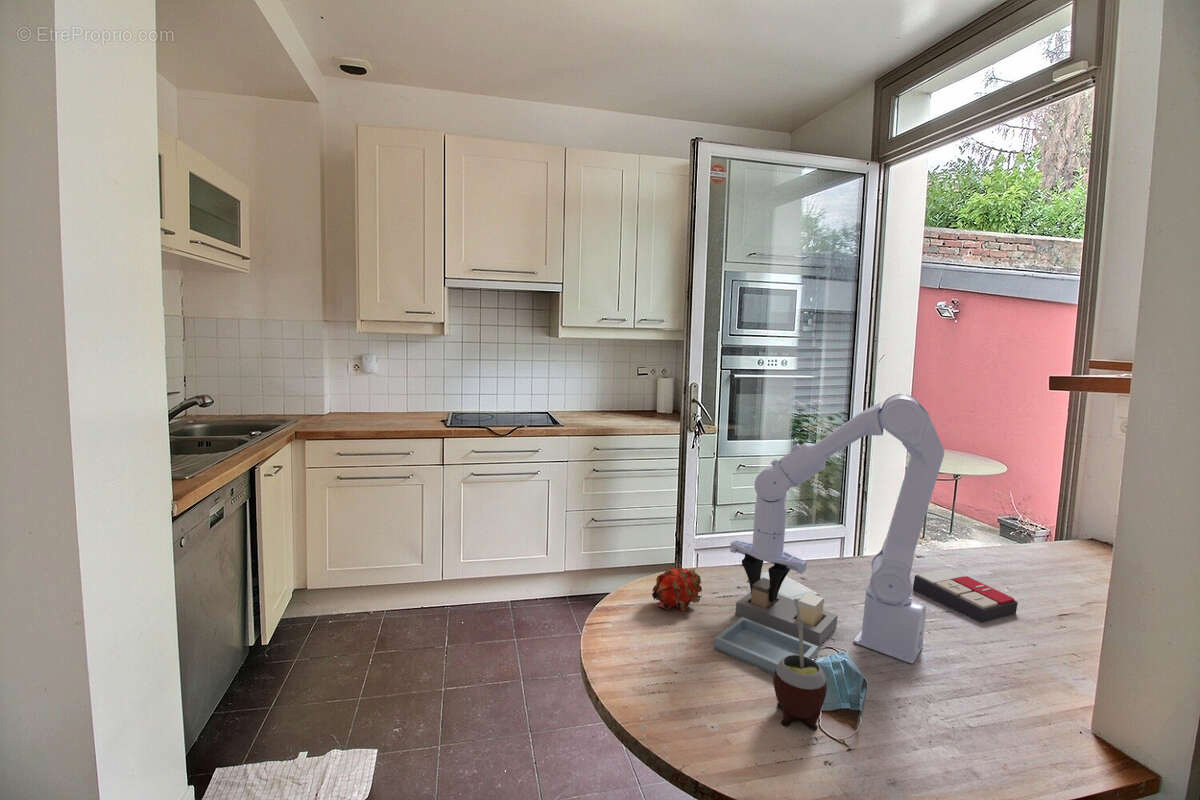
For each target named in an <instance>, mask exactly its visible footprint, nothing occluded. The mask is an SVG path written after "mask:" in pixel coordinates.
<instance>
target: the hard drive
mask: <svg viewBox="0 0 1200 800" xmlns="http://www.w3.org/2000/svg"><path fill="white" fill-rule="evenodd" d="M761 578H766V579H769V580H770V578H769V571H765V572H761ZM761 578H760V579H761ZM747 581H748V582H749V580H748V579H747ZM807 593H811V594H814V595H817V596H820V594H819V593H818V592H816V591H814V590H812V589H810V588H809V587H807V586H805V585H803V584H802V583H799V582H798V581H796V580H794V579H792V578H790V577H789V576H788V575H786V577H785V579H784V580H783V582H782V584H781V587H780V589H779V592H778V595H781V596H784V597H787V598H790V599H792V600H794V599H797V600H798V601H799V600H800V599H801V598H802V597H803V596H805V595H806V594H807Z"/></svg>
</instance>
